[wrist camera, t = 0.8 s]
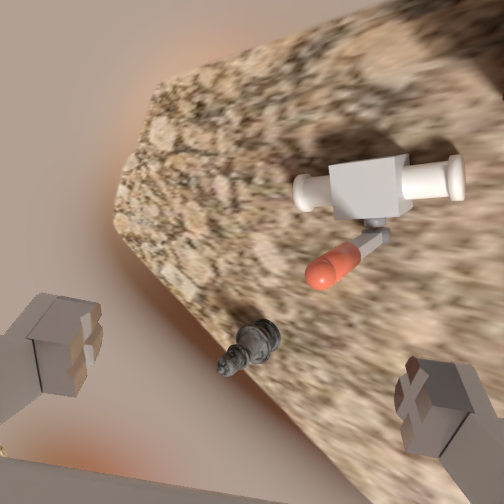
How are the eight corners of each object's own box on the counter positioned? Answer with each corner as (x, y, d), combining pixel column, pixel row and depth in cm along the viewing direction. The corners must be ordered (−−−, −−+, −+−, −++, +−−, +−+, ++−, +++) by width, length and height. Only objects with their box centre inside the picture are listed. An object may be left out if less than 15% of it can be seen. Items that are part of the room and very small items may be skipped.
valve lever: (392, 221, 49) (329, 264, 34) (394, 243, 49) (332, 295, 35) (366, 222, 51) (295, 263, 36) (368, 244, 51) (299, 293, 36)
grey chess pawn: (289, 335, 62) (243, 374, 53) (271, 361, 65) (225, 402, 56) (259, 309, 64) (209, 342, 54) (243, 335, 67) (193, 371, 57)
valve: (464, 145, 45) (455, 148, 40) (467, 215, 46) (459, 226, 41) (306, 167, 55) (284, 171, 50) (313, 224, 56) (292, 233, 51)
